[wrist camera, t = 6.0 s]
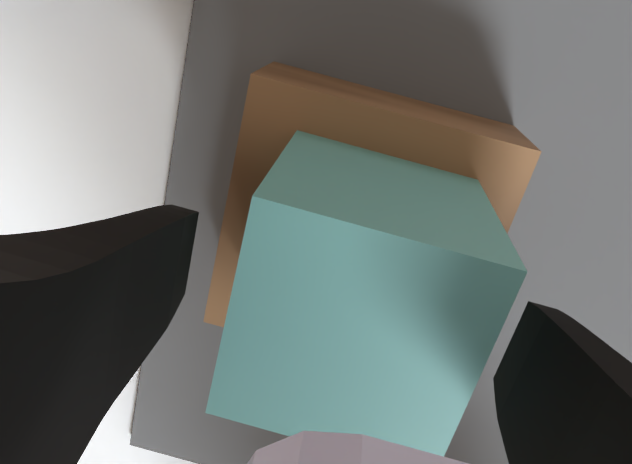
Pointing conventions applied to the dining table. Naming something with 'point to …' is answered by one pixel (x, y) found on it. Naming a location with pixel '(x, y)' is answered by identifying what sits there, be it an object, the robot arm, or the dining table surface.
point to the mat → (436, 88)
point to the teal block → (363, 298)
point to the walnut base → (365, 132)
